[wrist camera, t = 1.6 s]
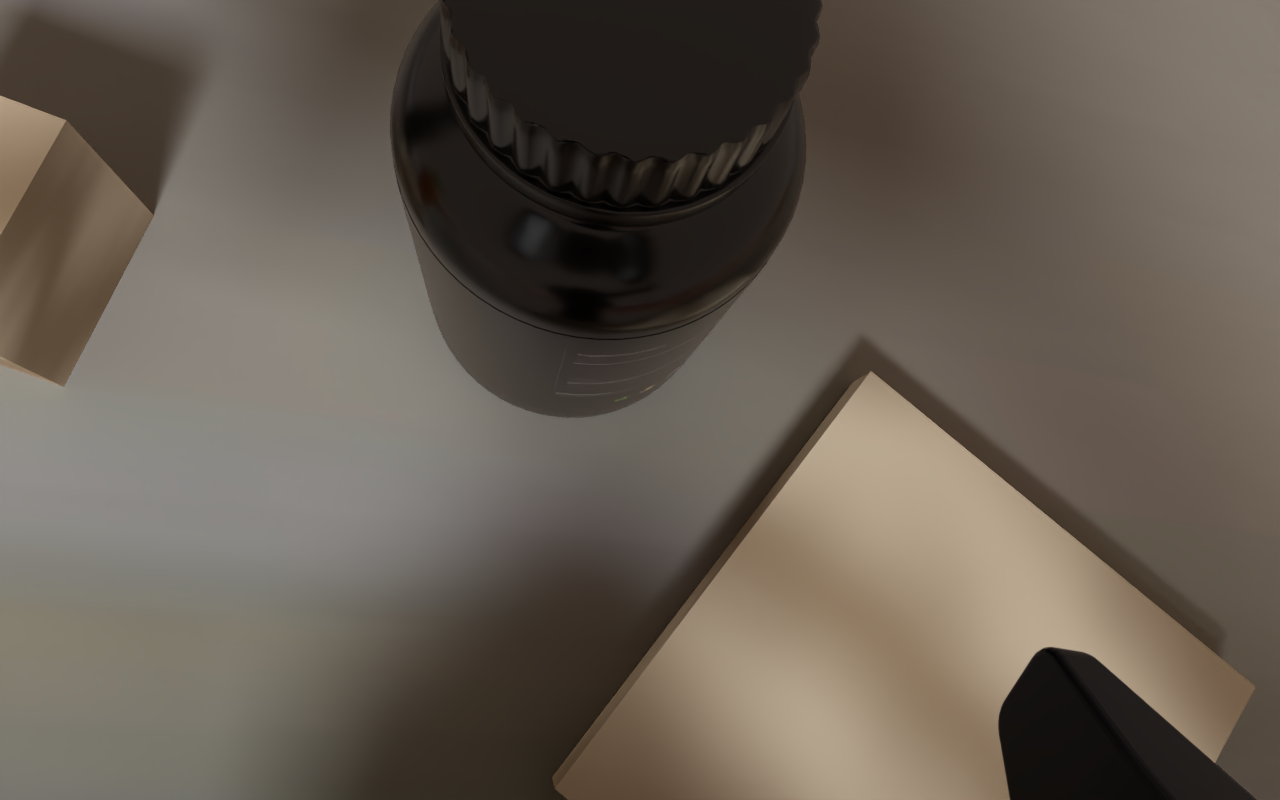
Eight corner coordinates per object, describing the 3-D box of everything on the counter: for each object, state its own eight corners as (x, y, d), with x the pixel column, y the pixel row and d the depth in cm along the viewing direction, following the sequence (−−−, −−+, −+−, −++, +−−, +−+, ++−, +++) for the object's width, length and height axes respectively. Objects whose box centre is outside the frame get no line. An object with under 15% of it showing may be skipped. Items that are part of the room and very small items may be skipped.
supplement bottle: (380, 235, 22) (240, -163, 10) (618, 126, 24) (727, -326, 12) (514, 478, 21) (526, 337, 10) (751, 348, 23) (1006, 93, 11)
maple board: (970, 1129, 20) (999, 1162, 18) (551, 777, 20) (554, 789, 19) (1217, 682, 23) (1256, 686, 22) (852, 382, 23) (871, 371, 22)
